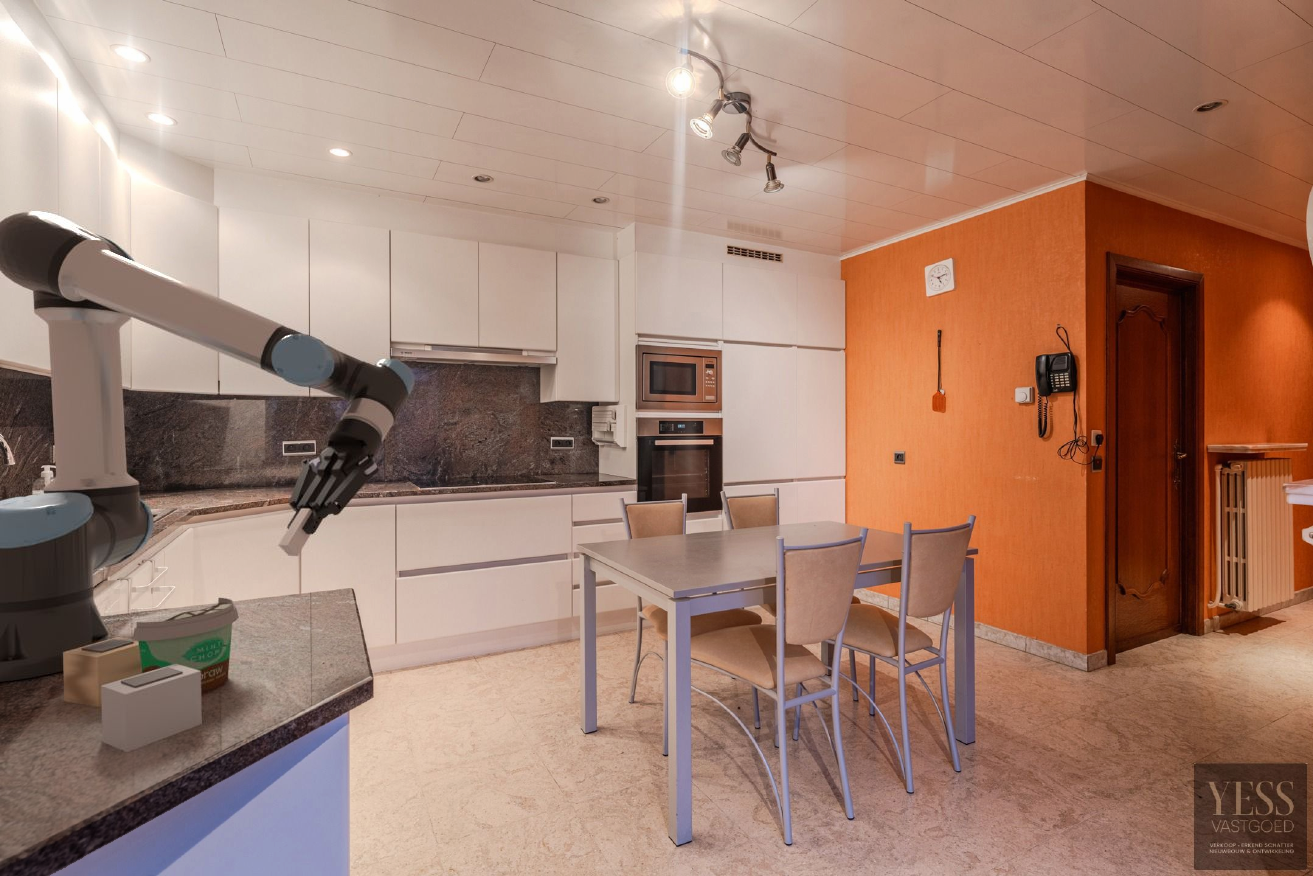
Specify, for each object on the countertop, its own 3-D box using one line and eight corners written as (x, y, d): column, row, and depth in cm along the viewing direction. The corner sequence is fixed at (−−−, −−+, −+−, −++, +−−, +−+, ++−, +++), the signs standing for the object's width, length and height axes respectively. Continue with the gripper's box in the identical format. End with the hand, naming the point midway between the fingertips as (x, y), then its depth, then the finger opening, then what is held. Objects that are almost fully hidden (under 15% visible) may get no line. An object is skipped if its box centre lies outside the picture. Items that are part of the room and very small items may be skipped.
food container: (177, 712, 74) (175, 626, 74) (133, 708, 76) (131, 623, 76) (262, 672, 87) (261, 598, 86) (223, 669, 88) (222, 596, 88)
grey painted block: (102, 742, 67) (101, 683, 67) (177, 715, 74) (176, 661, 74) (126, 753, 65) (125, 692, 65) (201, 724, 71) (200, 669, 71)
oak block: (64, 701, 78) (63, 650, 78) (118, 682, 84) (117, 635, 84) (98, 707, 76) (97, 655, 76) (151, 687, 82) (150, 639, 82)
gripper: (405, 446, 109) (341, 566, 93) (337, 447, 112) (264, 563, 96) (385, 415, 104) (313, 536, 88) (315, 416, 107) (233, 534, 91)
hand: (288, 550), depth 92 cm, fingers closed
